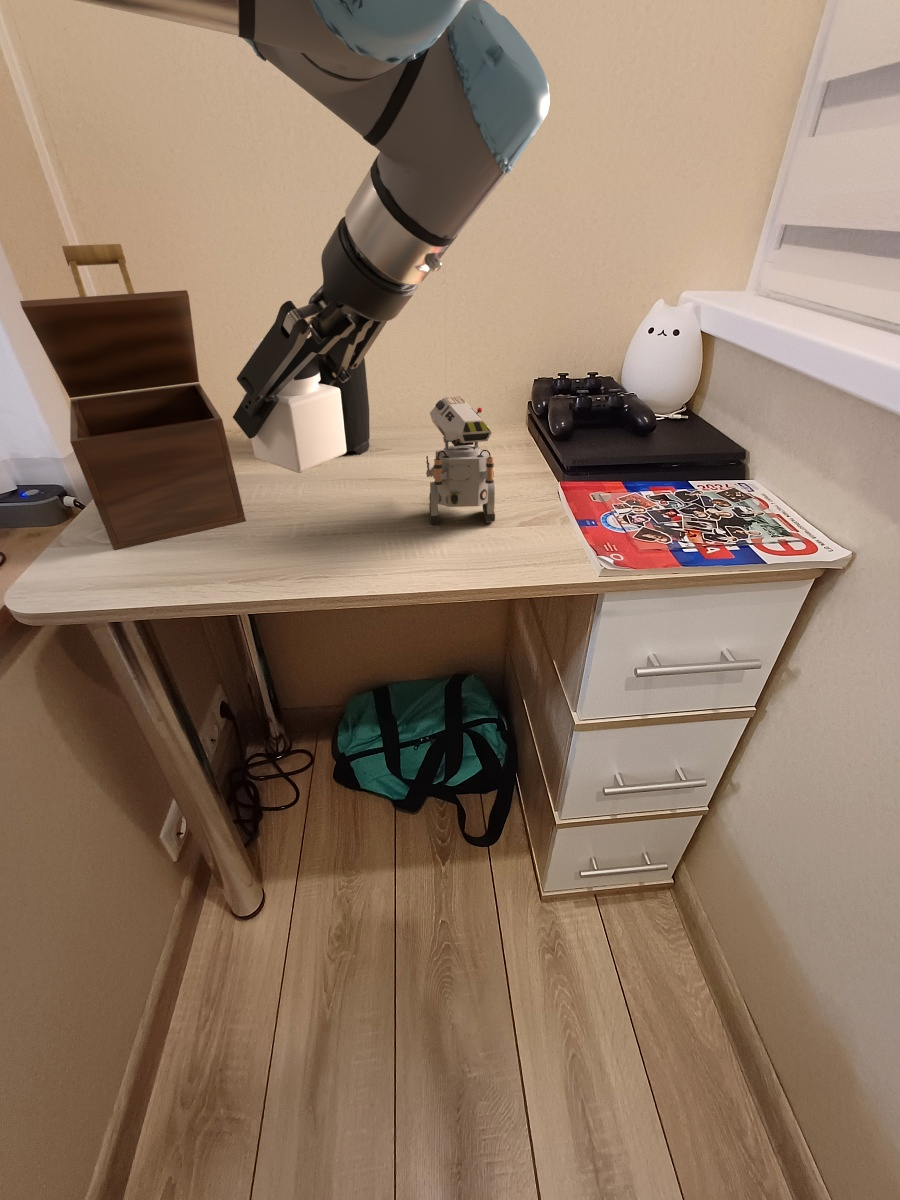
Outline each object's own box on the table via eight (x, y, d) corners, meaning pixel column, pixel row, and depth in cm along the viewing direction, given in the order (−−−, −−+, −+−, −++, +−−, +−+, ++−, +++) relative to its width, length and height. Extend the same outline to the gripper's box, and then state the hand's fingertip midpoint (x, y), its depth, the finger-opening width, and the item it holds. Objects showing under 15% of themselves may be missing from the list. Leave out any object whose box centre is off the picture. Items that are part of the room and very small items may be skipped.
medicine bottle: (303, 439, 66) (286, 327, 59) (348, 453, 63) (336, 336, 56) (253, 458, 62) (229, 339, 55) (299, 475, 58) (279, 349, 51)
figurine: (486, 492, 87) (490, 392, 78) (496, 529, 78) (502, 420, 69) (426, 494, 86) (424, 393, 77) (429, 531, 77) (426, 421, 68)
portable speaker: (366, 436, 106) (356, 320, 94) (376, 455, 98) (367, 332, 87) (319, 441, 103) (304, 323, 92) (326, 461, 96) (310, 336, 85)
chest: (246, 521, 79) (222, 418, 71) (113, 550, 73) (70, 441, 64) (222, 474, 92) (199, 382, 83) (107, 496, 85) (70, 399, 77)
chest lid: (189, 295, 66) (166, 228, 67) (21, 307, 60) (-2, 232, 60) (199, 382, 83) (181, 327, 84) (69, 398, 77) (51, 339, 77)
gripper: (326, 309, 39) (219, 477, 55) (475, 276, 53) (354, 418, 69) (256, 212, 38) (168, 412, 54) (426, 205, 52) (316, 366, 68)
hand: (273, 416), depth 62 cm, fingers closed on medicine bottle, 7 cm apart
